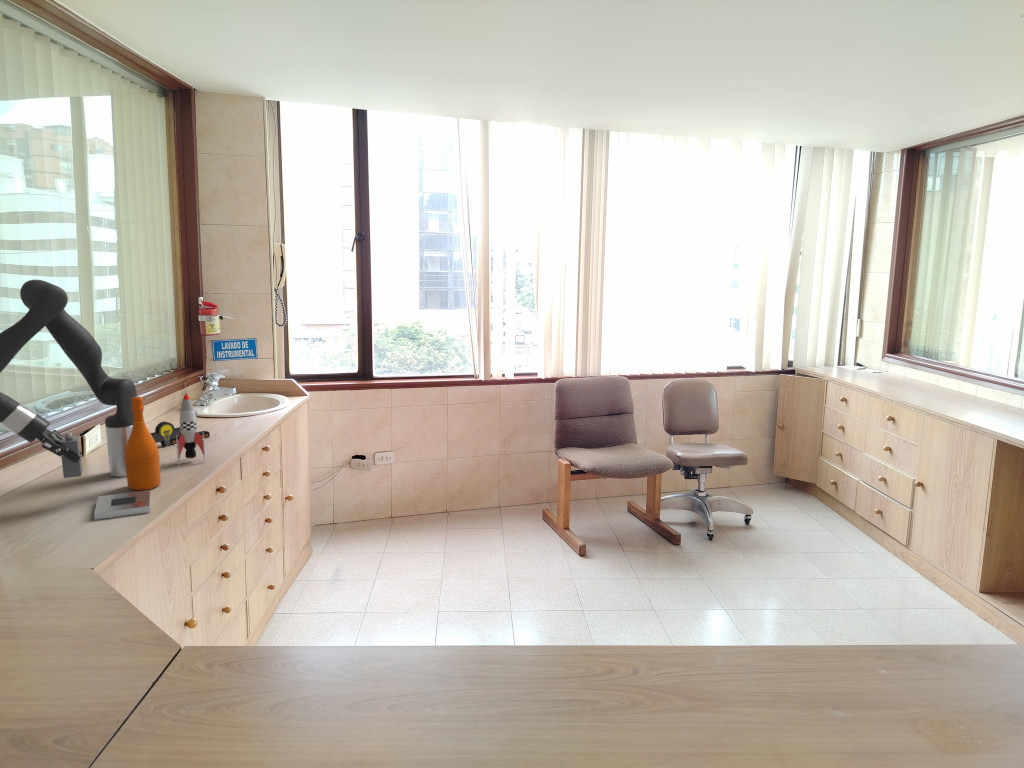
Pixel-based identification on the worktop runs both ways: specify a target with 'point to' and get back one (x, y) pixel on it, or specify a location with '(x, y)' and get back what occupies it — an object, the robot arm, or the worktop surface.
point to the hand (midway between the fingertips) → (78, 457)
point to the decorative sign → (170, 434)
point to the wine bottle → (141, 453)
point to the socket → (122, 504)
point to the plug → (69, 466)
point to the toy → (189, 430)
